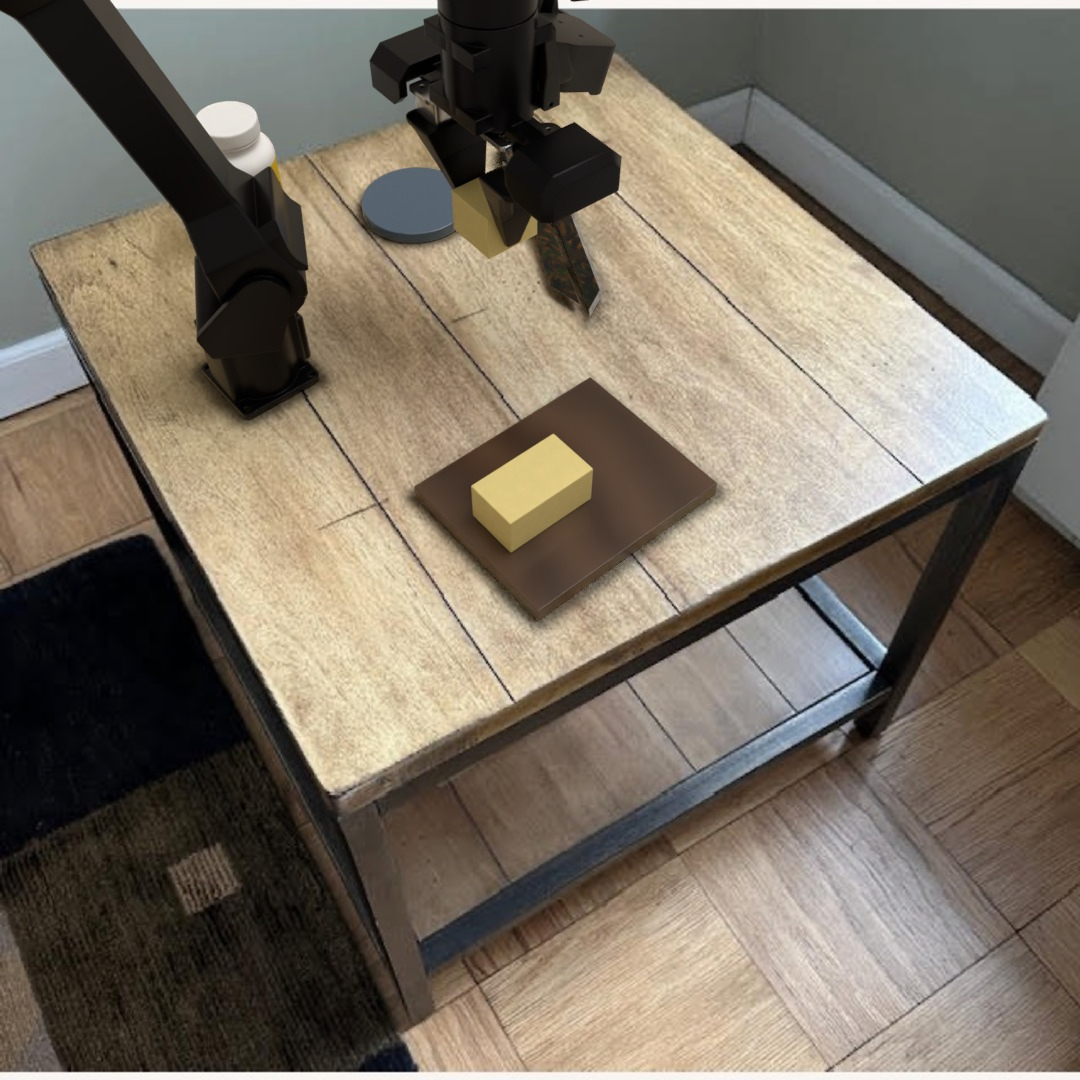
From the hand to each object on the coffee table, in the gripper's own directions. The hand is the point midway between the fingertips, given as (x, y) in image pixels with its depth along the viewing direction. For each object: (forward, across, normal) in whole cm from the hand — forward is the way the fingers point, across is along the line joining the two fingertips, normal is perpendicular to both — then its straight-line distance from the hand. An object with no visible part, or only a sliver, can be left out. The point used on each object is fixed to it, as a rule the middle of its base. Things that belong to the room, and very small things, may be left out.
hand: (493, 228), depth 75 cm
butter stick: (+10, -15, +8) cm, 19 cm away
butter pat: (0, 0, 0) cm, 0 cm away
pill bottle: (+11, +22, +8) cm, 26 cm away
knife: (+11, +9, -13) cm, 19 cm away
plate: (+11, +17, -4) cm, 21 cm away
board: (+11, -15, +5) cm, 19 cm away
